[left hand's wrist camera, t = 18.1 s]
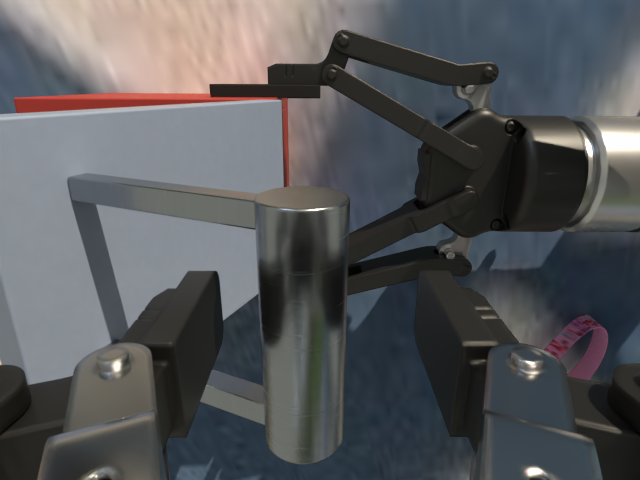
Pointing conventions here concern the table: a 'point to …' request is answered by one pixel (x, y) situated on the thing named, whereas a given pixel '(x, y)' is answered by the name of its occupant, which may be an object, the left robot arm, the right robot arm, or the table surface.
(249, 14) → the table surface
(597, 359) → the headband
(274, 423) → the lid
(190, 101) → the chest
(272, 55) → the table surface
